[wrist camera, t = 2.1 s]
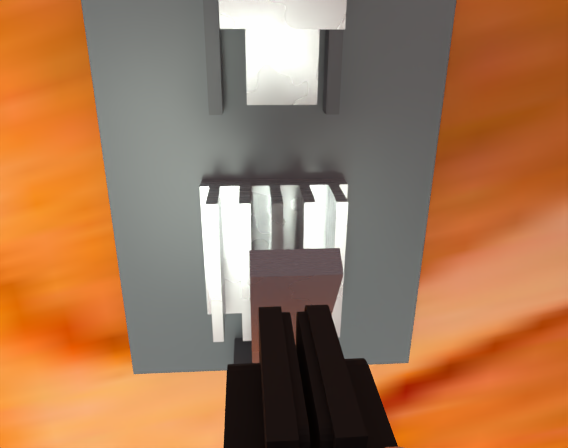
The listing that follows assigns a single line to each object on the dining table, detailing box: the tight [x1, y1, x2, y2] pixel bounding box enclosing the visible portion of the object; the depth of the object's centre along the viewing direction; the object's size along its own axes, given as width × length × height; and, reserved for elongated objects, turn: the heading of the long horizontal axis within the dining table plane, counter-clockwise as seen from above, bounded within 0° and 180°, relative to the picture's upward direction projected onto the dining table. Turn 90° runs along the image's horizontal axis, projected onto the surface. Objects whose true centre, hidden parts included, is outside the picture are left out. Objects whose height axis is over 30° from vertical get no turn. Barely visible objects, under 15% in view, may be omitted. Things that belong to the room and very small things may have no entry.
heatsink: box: [200, 178, 348, 342], centre depth 23 cm, size 7×7×3 cm
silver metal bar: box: [249, 248, 344, 363], centre depth 19 cm, size 15×3×2 cm
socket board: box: [81, 0, 456, 374], centre depth 23 cm, size 22×16×4 cm
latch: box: [219, 0, 347, 105], centre depth 18 cm, size 5×4×6 cm
